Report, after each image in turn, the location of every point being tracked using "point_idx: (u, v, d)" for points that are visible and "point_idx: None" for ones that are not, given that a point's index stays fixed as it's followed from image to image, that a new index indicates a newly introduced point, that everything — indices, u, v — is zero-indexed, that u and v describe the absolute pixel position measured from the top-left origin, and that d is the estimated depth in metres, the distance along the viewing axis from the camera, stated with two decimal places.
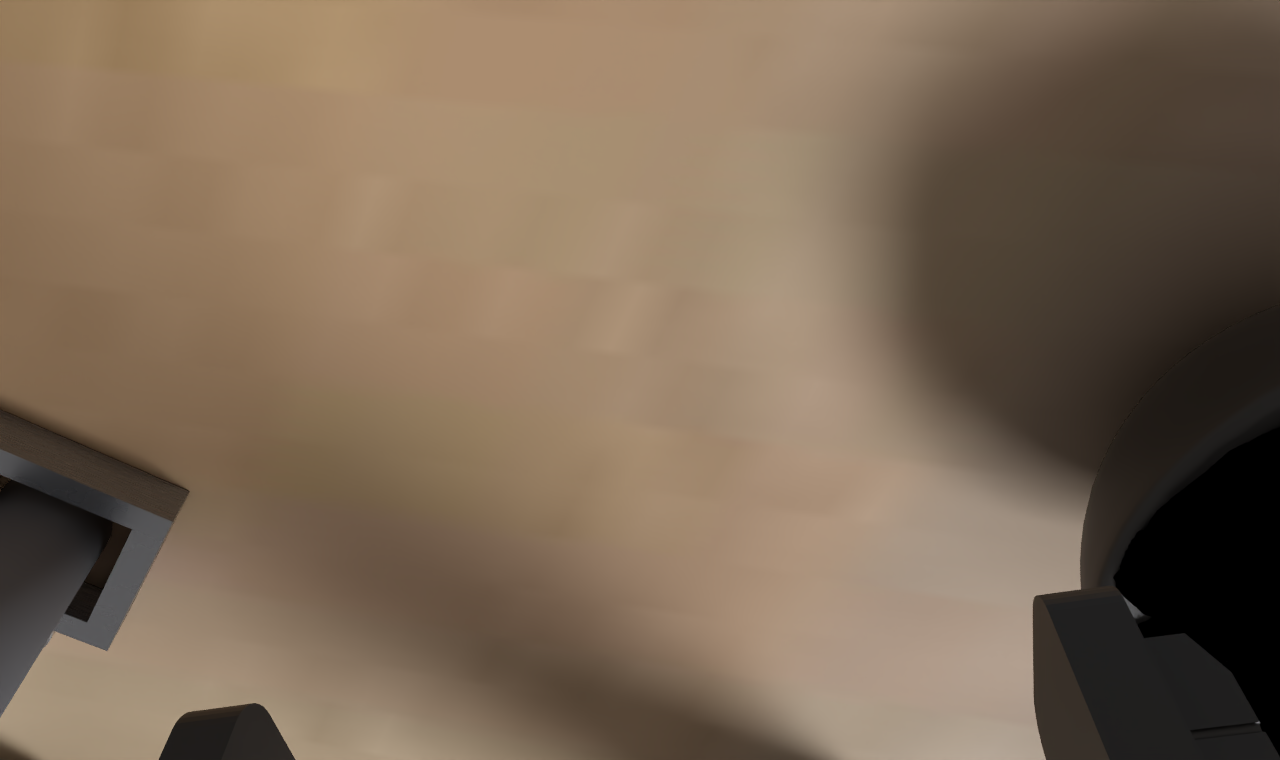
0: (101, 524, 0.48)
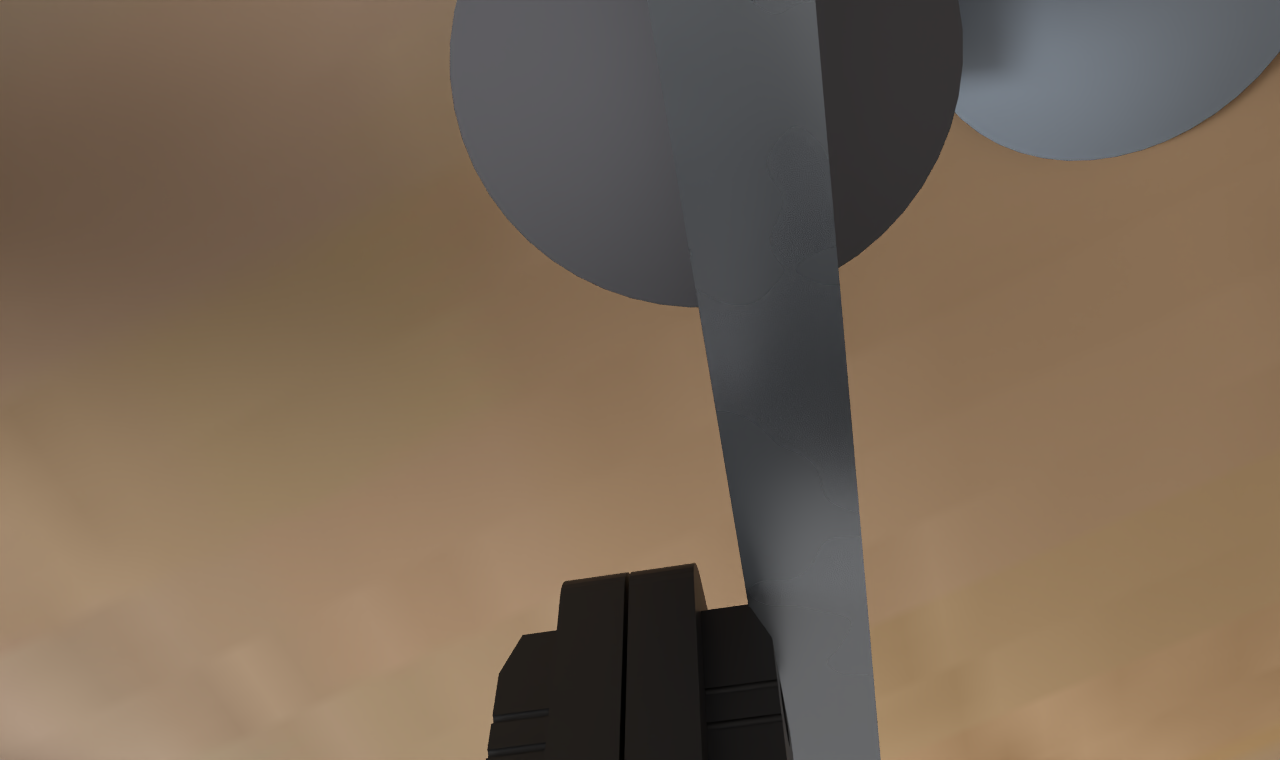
0: None
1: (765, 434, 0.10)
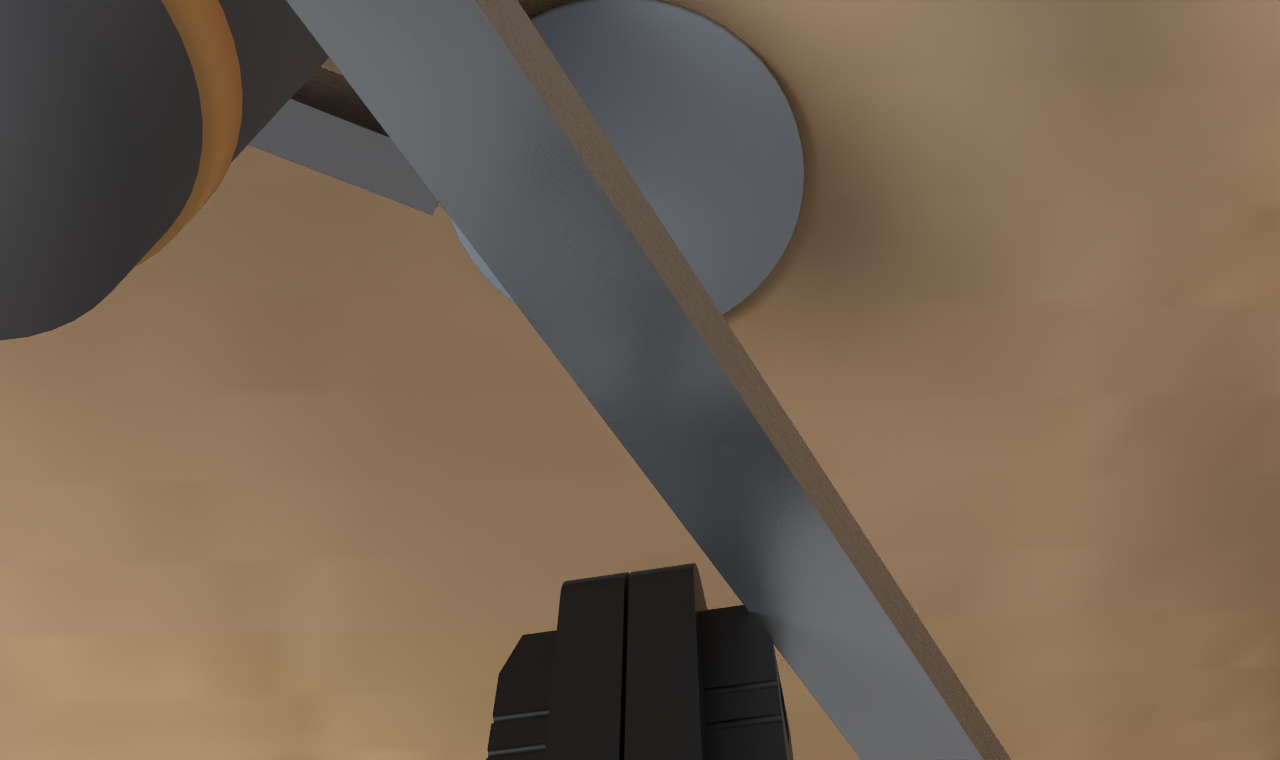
0: None
1: (664, 431, 0.10)
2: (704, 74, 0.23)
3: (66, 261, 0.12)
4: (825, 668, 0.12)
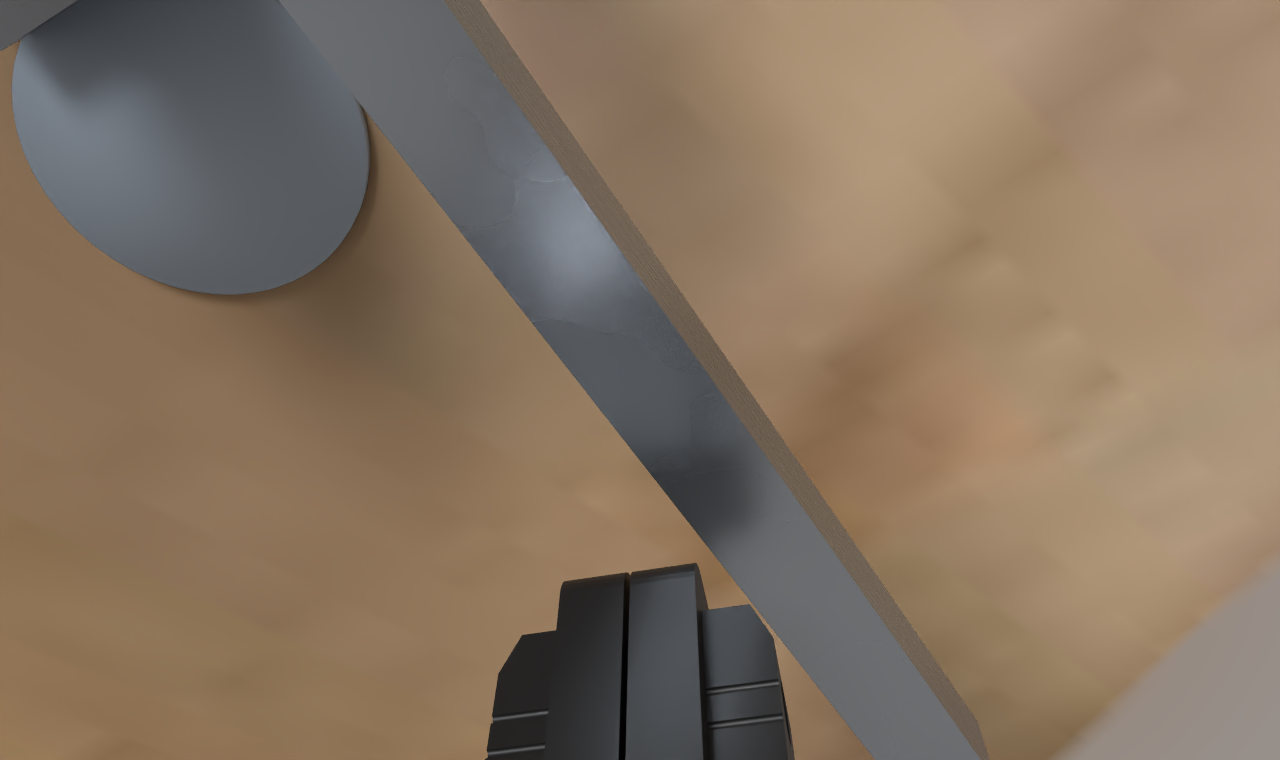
0: None
1: (583, 328, 0.11)
2: (313, 105, 0.25)
3: None
4: (745, 554, 0.13)
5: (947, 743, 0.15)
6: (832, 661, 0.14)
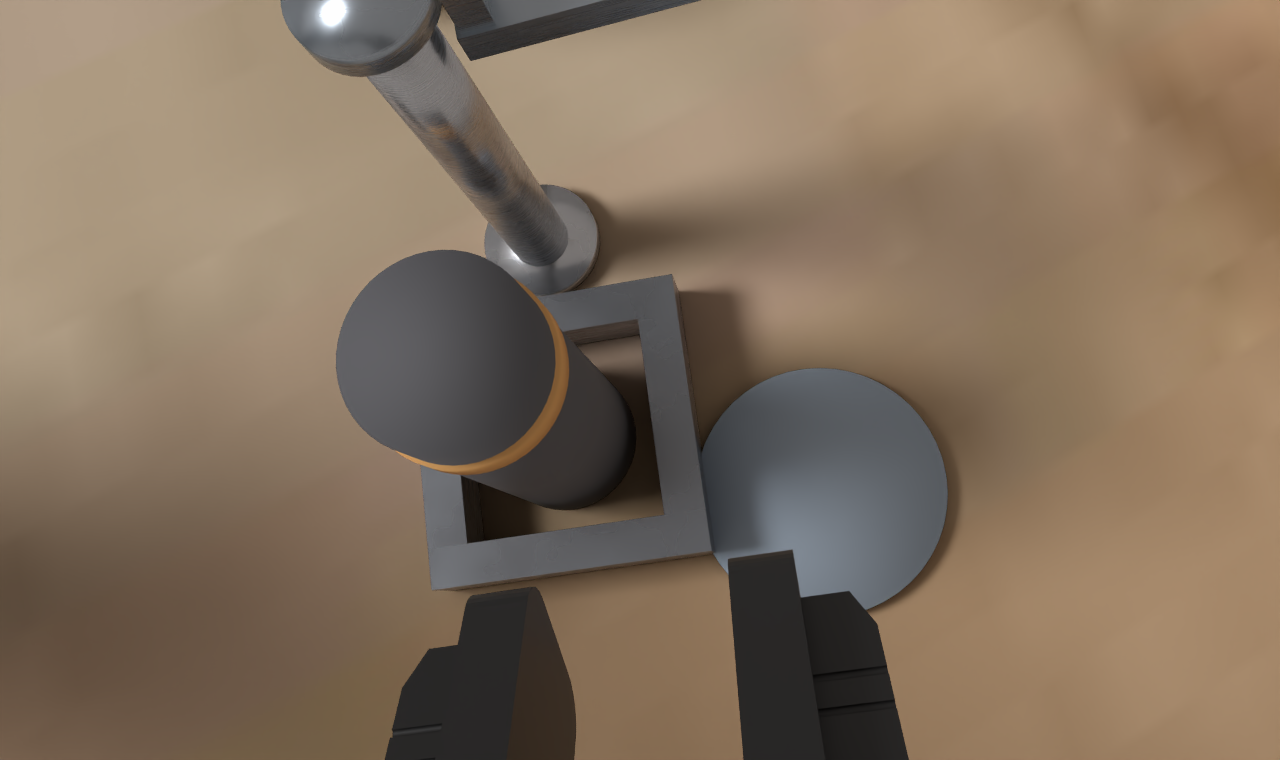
0: None
1: None
2: (824, 395, 0.36)
3: (513, 372, 0.25)
4: None
5: None
6: None
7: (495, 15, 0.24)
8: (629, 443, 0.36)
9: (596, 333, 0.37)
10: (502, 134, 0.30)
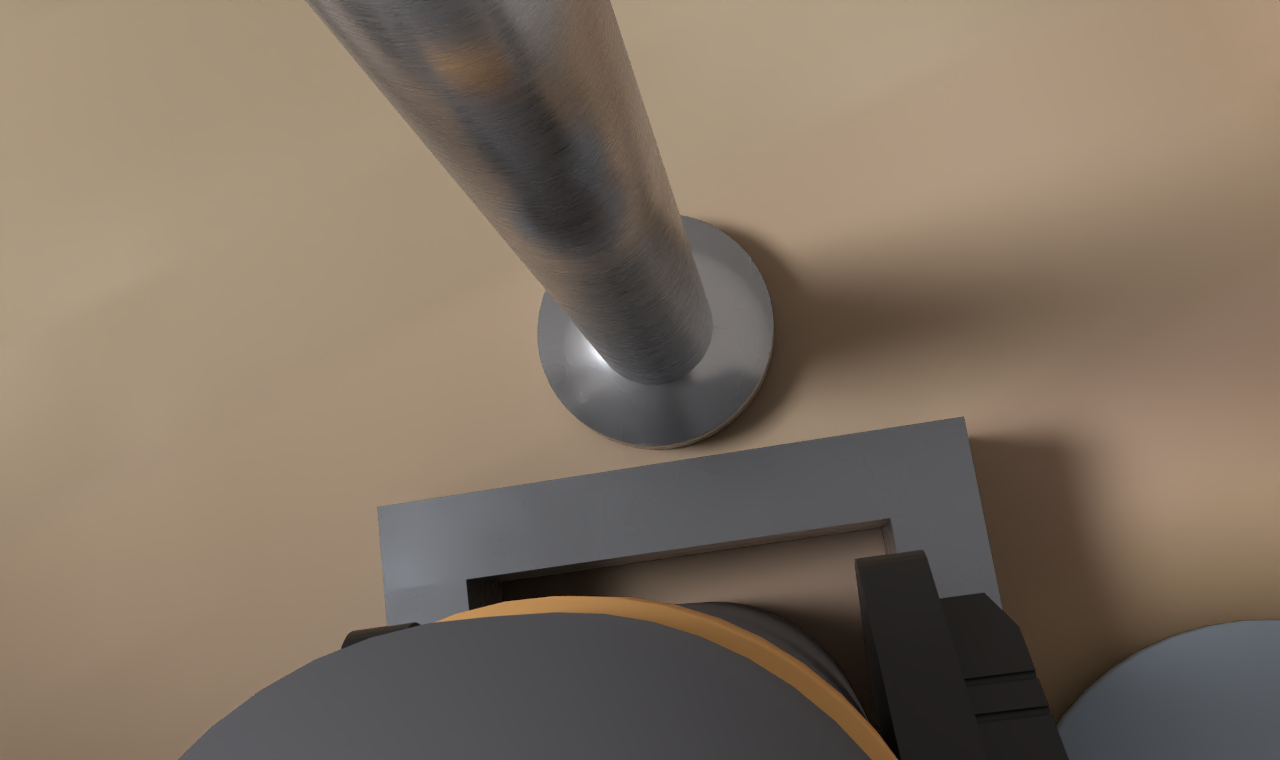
0: None
1: None
2: None
3: None
4: None
5: None
6: None
7: None
8: None
9: (785, 537, 0.17)
10: (636, 88, 0.10)
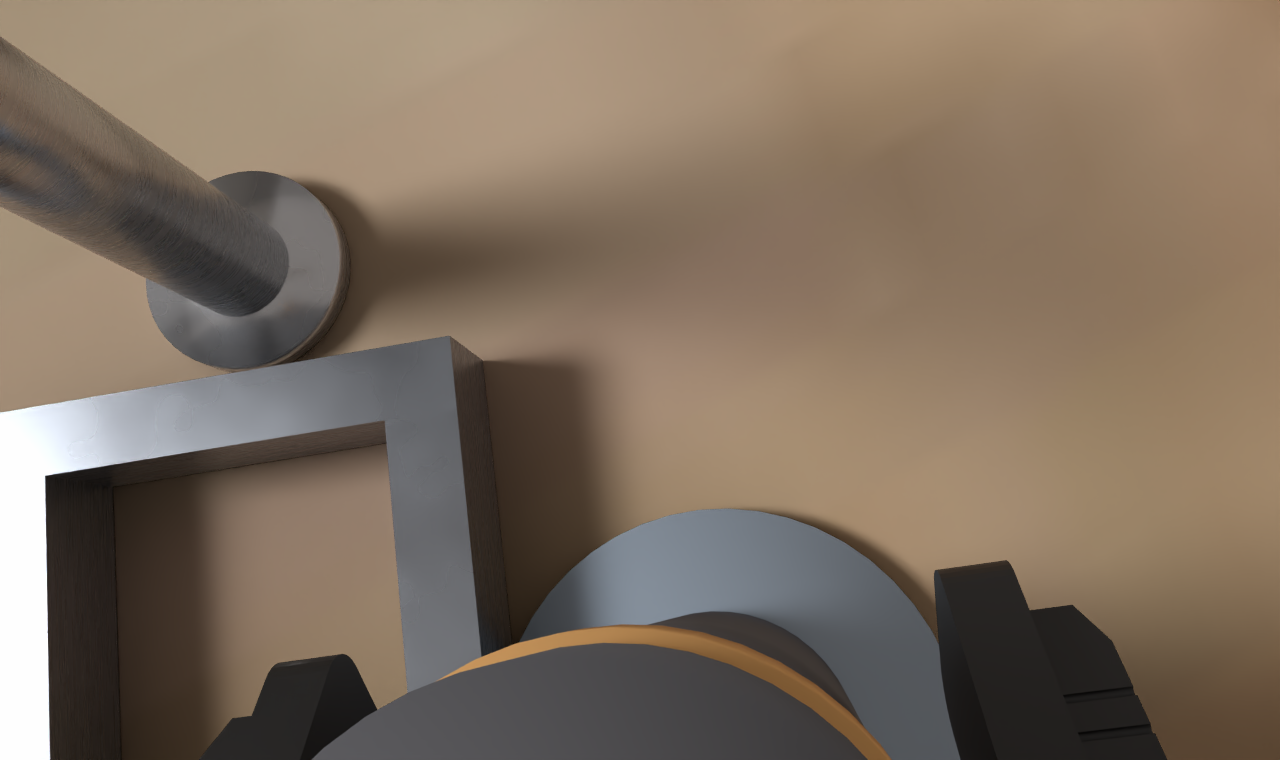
0: None
1: None
2: (736, 562, 0.19)
3: None
4: None
5: None
6: None
7: None
8: None
9: (323, 441, 0.20)
10: None
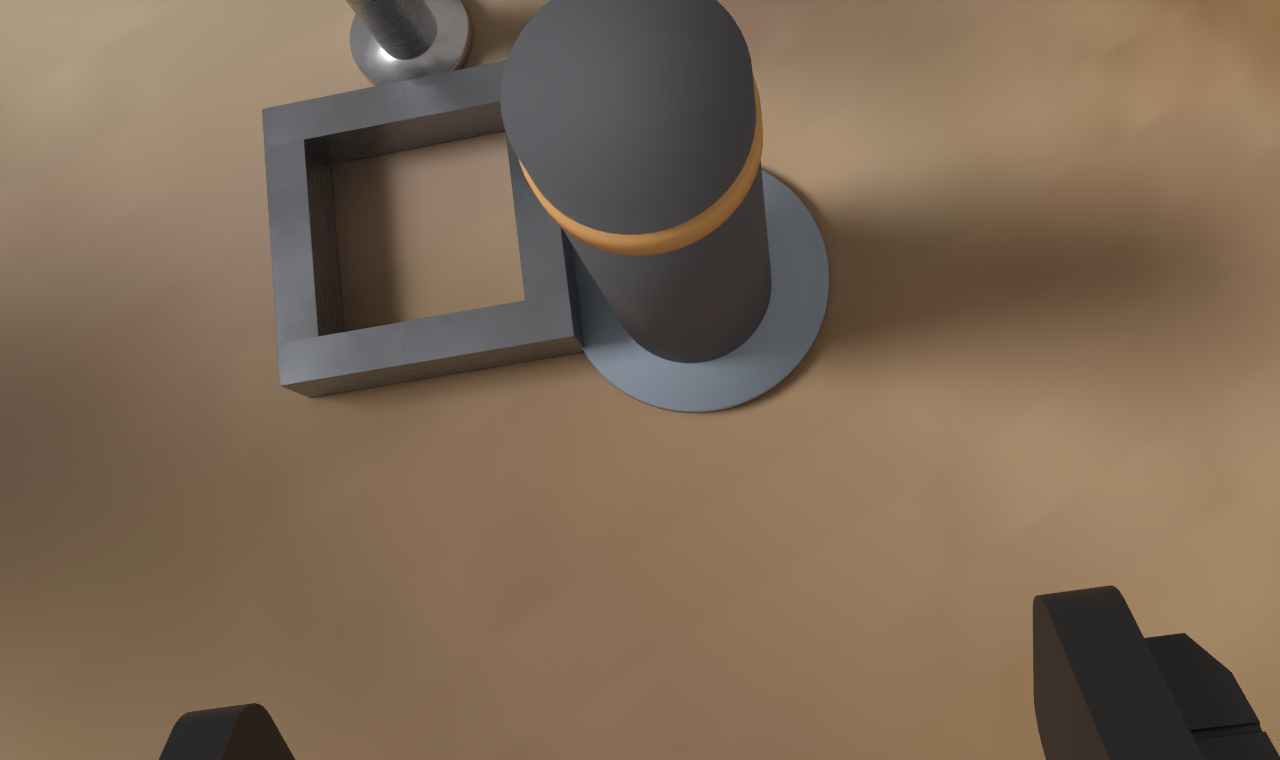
0: (635, 338, 0.33)
1: None
2: None
3: (721, 103, 0.20)
4: None
5: None
6: None
7: None
8: (770, 280, 0.32)
9: (462, 123, 0.35)
10: None
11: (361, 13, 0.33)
